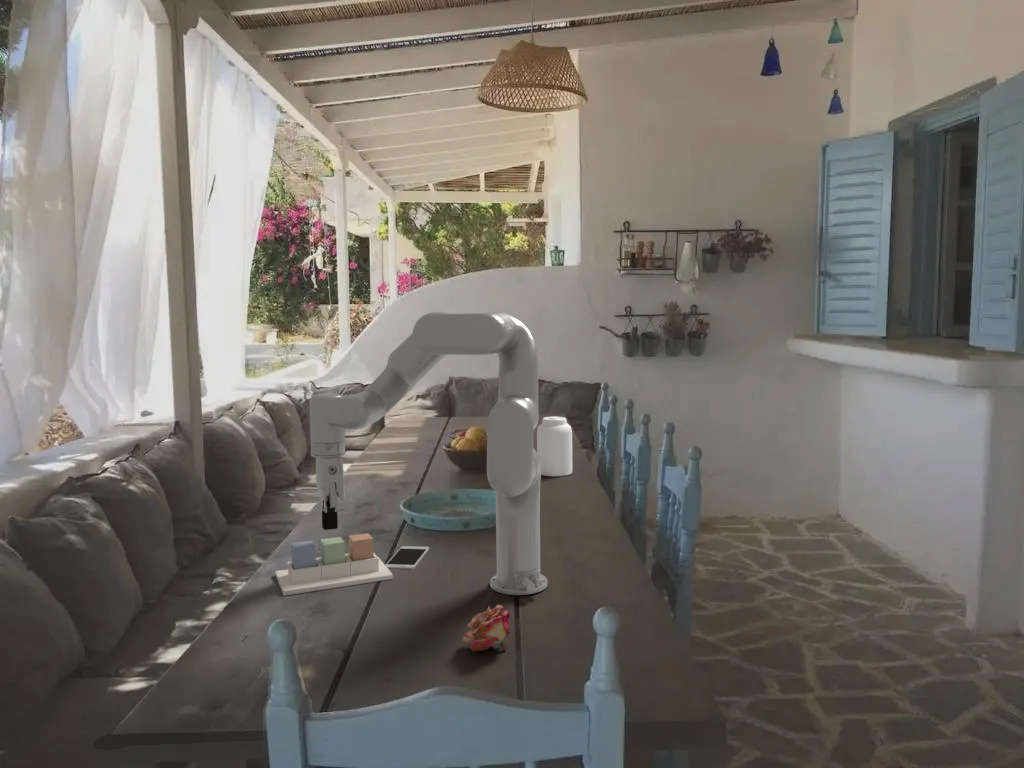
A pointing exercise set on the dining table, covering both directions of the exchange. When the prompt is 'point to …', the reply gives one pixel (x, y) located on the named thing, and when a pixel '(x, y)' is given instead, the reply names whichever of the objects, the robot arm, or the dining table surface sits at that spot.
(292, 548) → the slate button
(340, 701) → the dining table surface
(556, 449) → the white jar
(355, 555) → the terracotta button
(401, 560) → the smartphone
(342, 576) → the board
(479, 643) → the flower
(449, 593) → the dining table surface
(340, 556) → the sage button
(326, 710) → the dining table surface
